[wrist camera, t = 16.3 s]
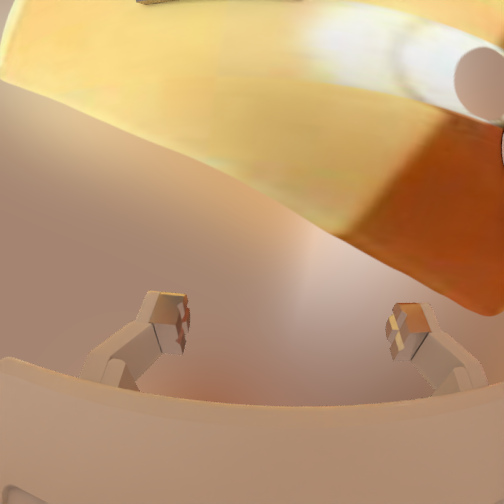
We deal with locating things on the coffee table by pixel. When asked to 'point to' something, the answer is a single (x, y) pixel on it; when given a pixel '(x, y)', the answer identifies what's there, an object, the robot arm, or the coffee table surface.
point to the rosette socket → (151, 1)
